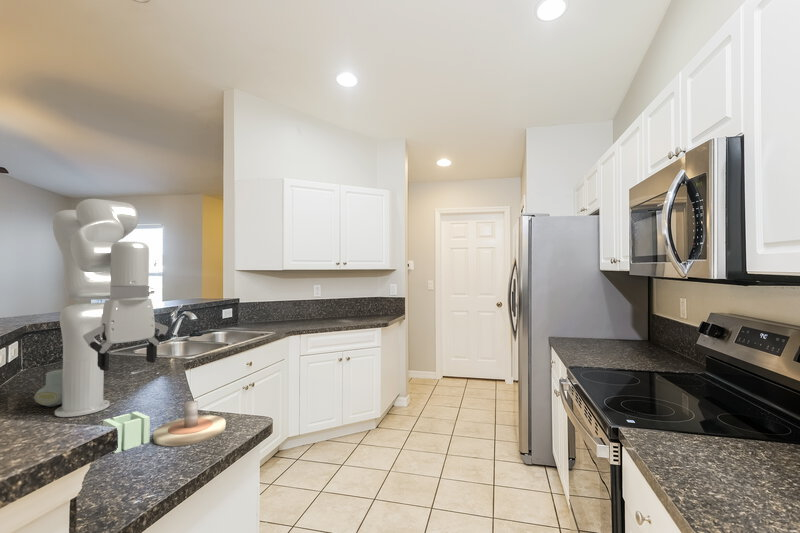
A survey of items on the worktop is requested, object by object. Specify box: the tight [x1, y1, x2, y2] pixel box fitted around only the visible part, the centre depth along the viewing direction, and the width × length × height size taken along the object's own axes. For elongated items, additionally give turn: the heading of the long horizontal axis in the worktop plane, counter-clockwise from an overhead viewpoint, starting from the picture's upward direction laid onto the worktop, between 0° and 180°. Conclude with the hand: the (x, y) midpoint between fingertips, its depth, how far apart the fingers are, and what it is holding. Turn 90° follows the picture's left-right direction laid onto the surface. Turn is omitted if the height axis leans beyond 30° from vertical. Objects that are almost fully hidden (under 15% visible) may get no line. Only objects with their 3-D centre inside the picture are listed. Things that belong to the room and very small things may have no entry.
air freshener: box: [34, 368, 63, 407], centre depth 121 cm, size 11×8×10 cm
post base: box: [152, 400, 227, 447], centre depth 97 cm, size 16×16×8 cm
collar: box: [102, 410, 151, 454], centre depth 91 cm, size 7×7×6 cm
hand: (128, 365), depth 91 cm, fingers open, 9 cm apart
